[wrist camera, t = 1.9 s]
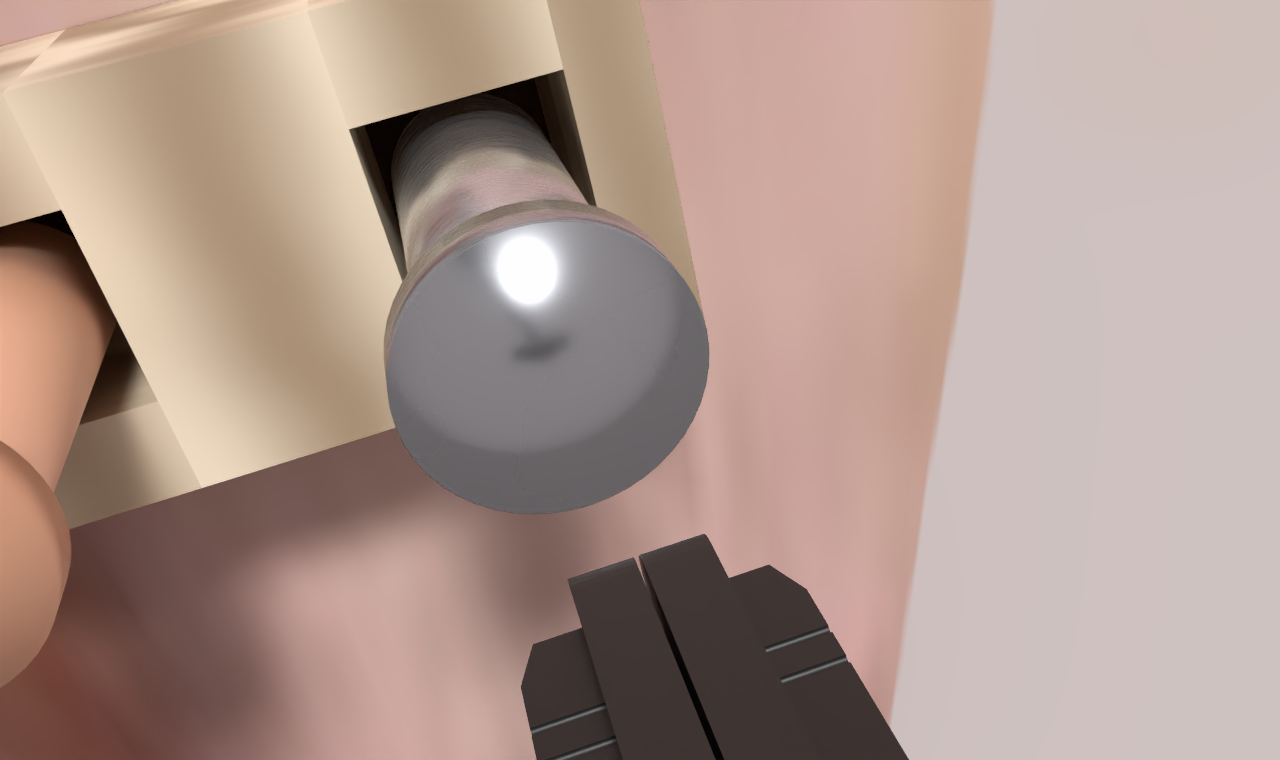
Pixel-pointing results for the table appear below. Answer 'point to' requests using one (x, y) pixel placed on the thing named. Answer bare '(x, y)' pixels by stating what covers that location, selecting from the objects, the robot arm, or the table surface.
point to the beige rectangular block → (283, 204)
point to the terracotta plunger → (40, 420)
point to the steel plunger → (529, 321)
